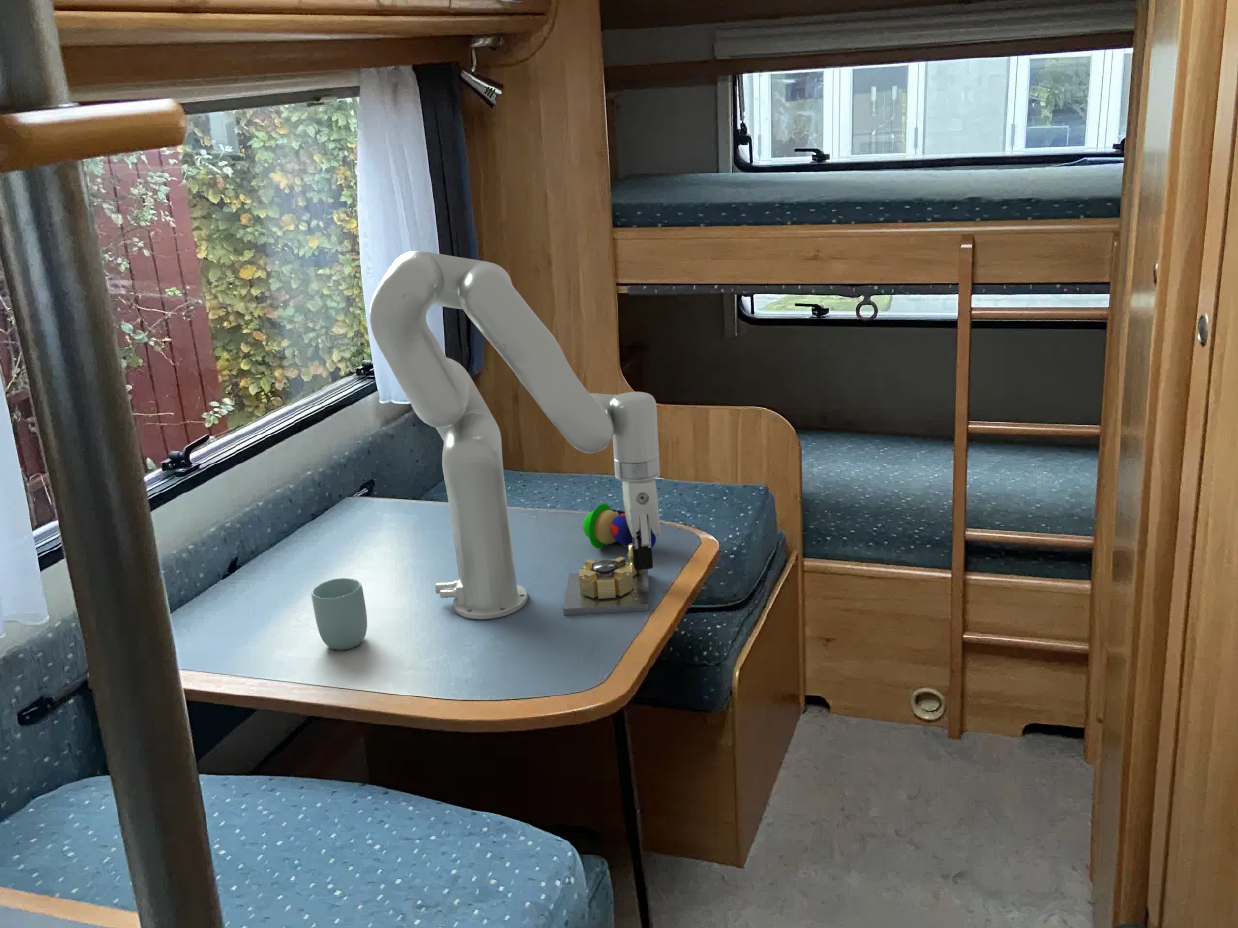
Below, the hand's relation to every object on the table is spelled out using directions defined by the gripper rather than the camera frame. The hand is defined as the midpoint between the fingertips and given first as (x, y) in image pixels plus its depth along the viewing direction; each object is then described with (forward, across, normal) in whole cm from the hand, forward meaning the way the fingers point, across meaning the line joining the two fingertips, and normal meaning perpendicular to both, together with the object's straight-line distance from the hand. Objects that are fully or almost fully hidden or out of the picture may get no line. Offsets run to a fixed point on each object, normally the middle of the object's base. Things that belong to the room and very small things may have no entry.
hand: (643, 567), depth 193 cm
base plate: (+4, -2, +7) cm, 8 cm away
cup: (+4, -8, +50) cm, 51 cm away
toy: (+4, +17, +2) cm, 18 cm away
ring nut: (+2, 0, +5) cm, 5 cm away
